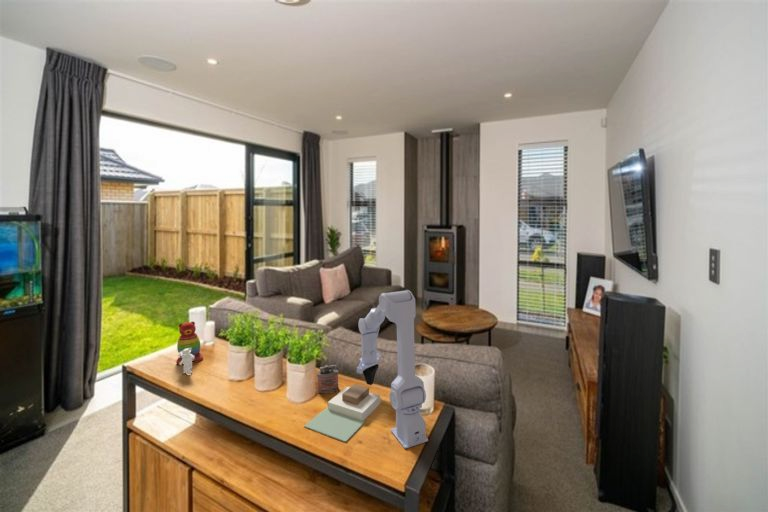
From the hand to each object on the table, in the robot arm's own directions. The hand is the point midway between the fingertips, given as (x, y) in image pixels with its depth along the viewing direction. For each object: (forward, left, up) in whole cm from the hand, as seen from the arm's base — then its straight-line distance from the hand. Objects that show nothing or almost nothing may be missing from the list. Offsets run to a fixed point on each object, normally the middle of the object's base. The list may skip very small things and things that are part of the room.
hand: (369, 383), depth 128 cm
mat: (-13, +18, -4) cm, 22 cm away
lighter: (+8, +14, -4) cm, 17 cm away
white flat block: (-6, +8, -4) cm, 11 cm away
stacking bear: (+64, +65, -4) cm, 91 cm away
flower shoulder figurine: (+48, +64, -4) cm, 80 cm away
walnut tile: (-6, +8, -1) cm, 10 cm away
